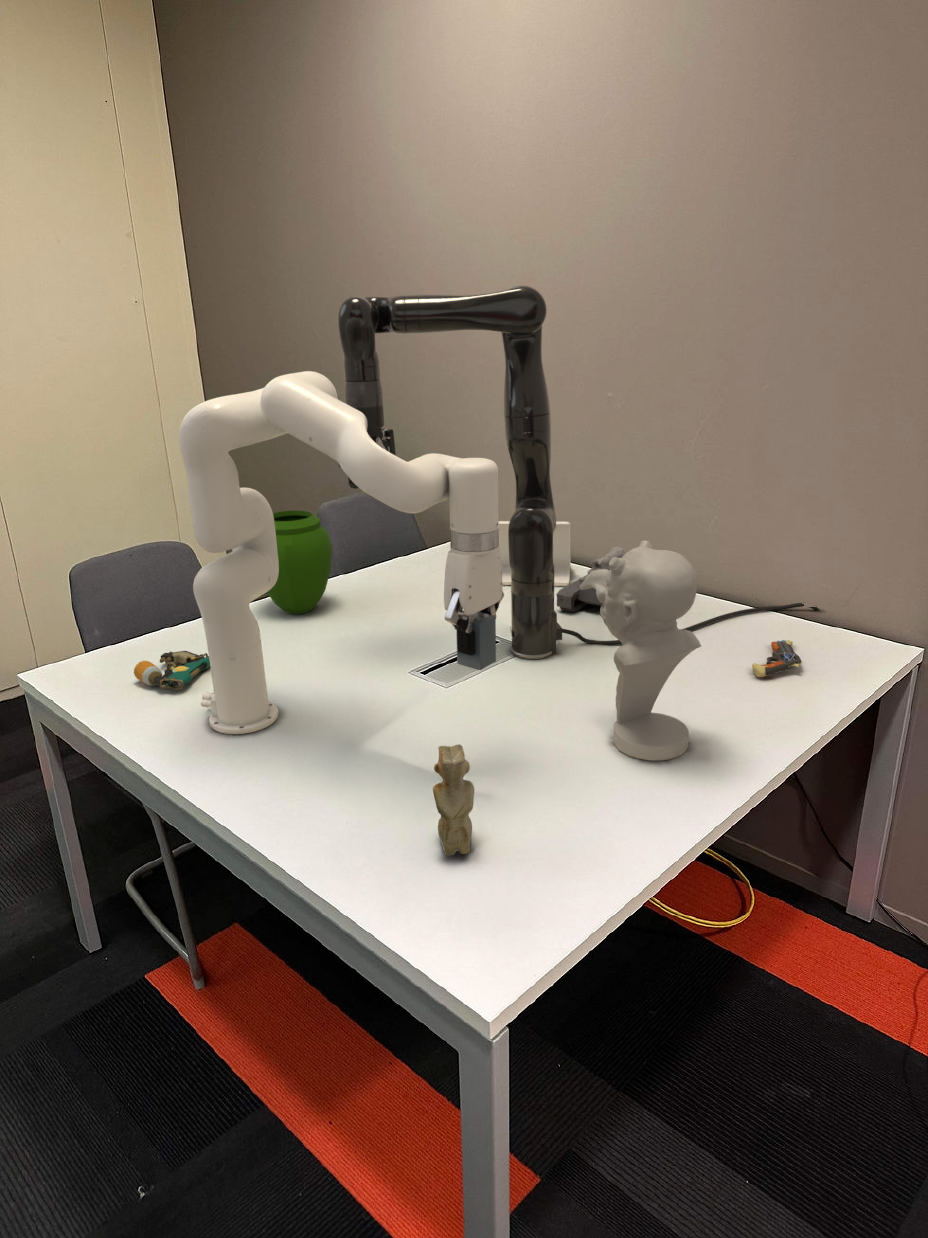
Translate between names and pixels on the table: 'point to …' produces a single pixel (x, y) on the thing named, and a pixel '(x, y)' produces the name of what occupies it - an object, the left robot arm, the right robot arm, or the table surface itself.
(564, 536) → the tablet stand
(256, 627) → the left robot arm
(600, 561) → the toy
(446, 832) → the sculpture
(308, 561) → the vase
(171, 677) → the spray gun
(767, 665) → the toy gun
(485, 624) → the brick
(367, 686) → the table surface
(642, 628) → the bust sculpture
